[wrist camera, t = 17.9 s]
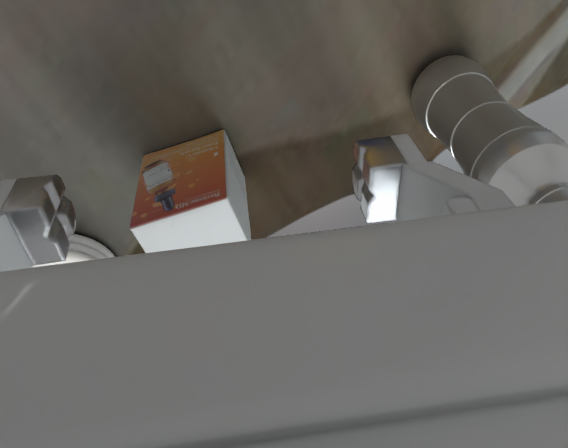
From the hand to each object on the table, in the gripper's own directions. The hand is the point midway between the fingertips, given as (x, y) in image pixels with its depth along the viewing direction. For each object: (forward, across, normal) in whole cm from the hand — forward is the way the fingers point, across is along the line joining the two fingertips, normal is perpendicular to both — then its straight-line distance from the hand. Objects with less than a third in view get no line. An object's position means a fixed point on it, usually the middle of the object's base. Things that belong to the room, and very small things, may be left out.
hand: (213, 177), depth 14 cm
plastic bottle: (+28, -19, +11) cm, 36 cm away
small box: (+28, +4, +17) cm, 33 cm away
